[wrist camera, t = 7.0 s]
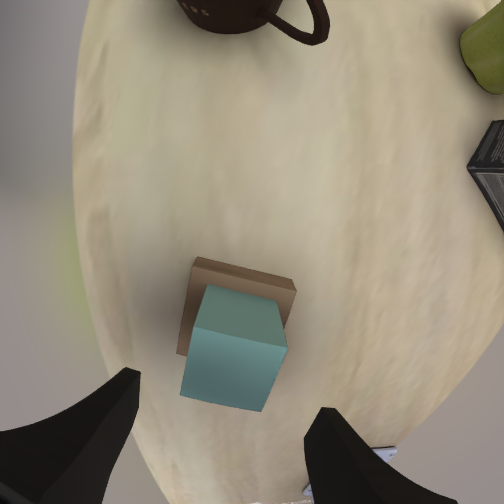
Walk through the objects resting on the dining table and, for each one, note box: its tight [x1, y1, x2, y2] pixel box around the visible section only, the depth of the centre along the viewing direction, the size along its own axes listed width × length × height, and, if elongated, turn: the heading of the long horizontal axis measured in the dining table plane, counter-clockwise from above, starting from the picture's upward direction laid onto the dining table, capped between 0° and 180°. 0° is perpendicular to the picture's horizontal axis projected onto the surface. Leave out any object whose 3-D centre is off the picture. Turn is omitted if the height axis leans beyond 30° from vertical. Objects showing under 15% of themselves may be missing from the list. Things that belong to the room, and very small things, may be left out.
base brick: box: [176, 257, 297, 356], centre depth 18 cm, size 6×6×2 cm
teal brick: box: [180, 284, 288, 412], centre depth 15 cm, size 4×4×5 cm
